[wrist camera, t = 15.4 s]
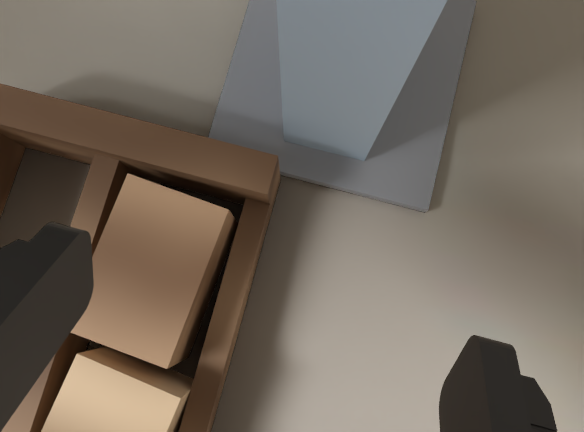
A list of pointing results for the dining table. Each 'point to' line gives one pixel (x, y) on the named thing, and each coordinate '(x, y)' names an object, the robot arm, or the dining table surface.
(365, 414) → the dining table surface
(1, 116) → the rack
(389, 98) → the pale blue tall prism
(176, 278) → the offcut short
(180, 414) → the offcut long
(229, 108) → the mat
